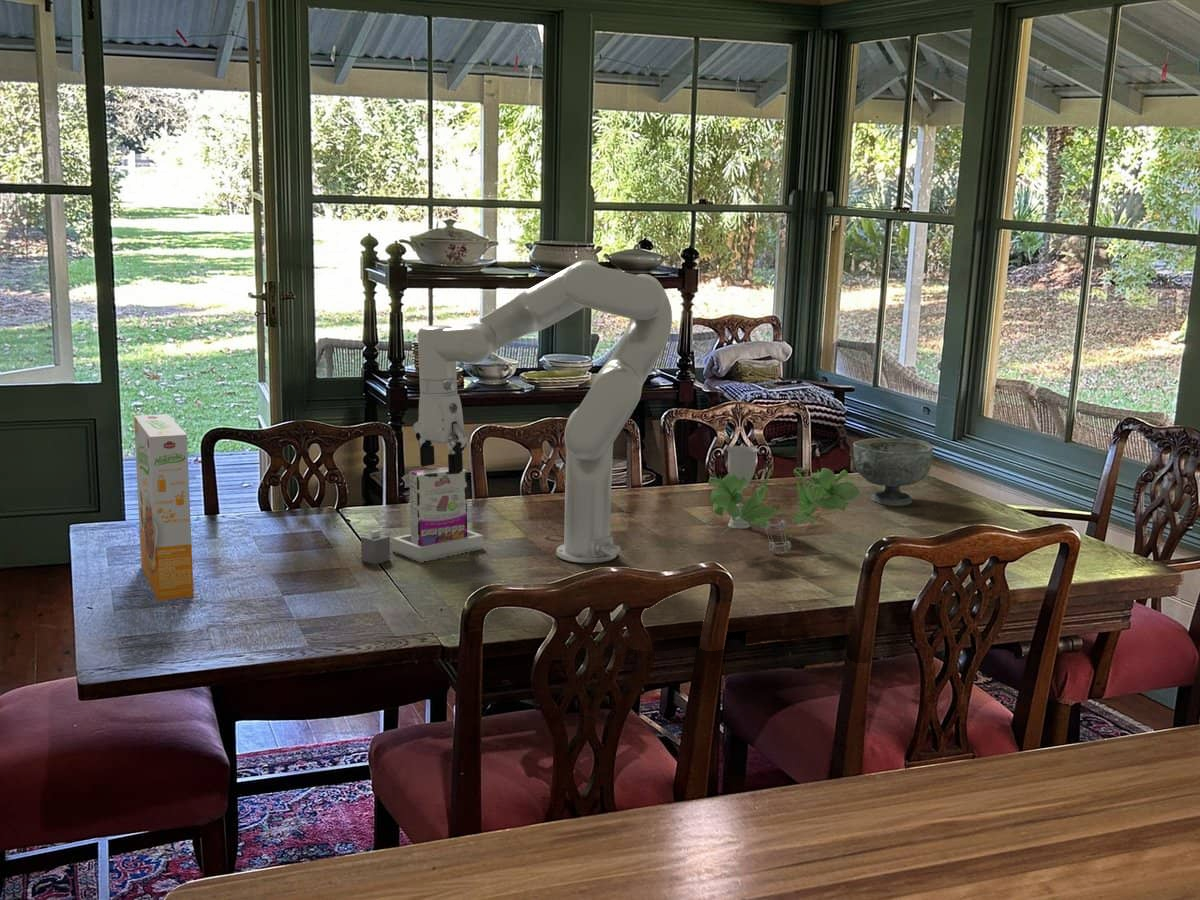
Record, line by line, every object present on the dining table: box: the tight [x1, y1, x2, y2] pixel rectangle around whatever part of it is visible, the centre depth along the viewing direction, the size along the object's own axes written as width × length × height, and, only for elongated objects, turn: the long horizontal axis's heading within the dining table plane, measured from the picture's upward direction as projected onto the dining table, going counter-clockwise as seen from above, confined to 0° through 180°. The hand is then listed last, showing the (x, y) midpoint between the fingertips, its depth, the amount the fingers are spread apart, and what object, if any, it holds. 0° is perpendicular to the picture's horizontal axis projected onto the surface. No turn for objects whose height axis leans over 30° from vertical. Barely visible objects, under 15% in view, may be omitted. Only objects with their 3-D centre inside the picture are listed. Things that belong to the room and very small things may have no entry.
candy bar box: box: [409, 466, 468, 546], centre depth 254 cm, size 11×5×16 cm, turn 121°
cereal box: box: [133, 413, 195, 601], centre depth 229 cm, size 22×6×30 cm, turn 27°
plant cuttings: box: [699, 467, 861, 554], centre depth 264 cm, size 35×17×22 cm
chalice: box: [726, 445, 759, 529], centre depth 280 cm, size 7×7×18 cm
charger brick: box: [360, 529, 391, 565], centre depth 247 cm, size 4×4×6 cm
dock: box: [391, 529, 484, 563], centre depth 256 cm, size 10×16×3 cm, turn 133°
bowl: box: [852, 437, 934, 507], centre depth 308 cm, size 20×19×15 cm
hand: (441, 468), depth 253 cm, fingers open, 9 cm apart
